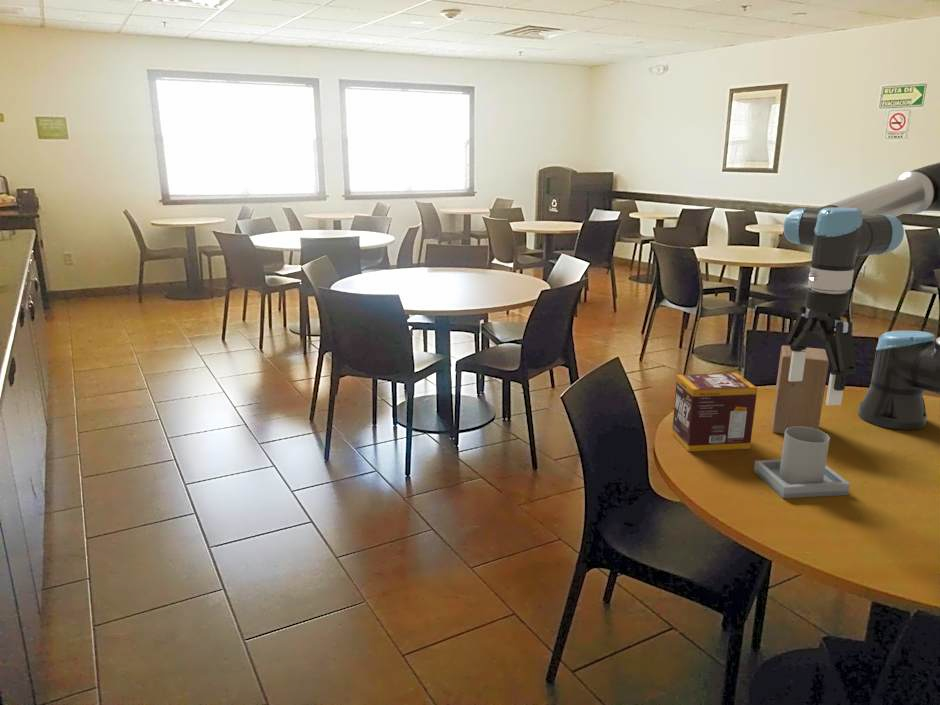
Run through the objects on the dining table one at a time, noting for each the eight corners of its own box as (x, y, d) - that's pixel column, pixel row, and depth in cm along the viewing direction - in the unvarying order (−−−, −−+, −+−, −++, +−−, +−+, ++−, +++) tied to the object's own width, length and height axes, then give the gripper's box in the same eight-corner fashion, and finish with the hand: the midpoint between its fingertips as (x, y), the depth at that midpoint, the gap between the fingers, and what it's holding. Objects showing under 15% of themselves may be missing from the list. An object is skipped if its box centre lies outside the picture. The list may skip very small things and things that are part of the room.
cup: (827, 489, 141) (835, 444, 138) (784, 485, 142) (791, 441, 139) (815, 470, 149) (822, 427, 146) (775, 467, 150) (781, 425, 147)
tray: (814, 467, 152) (816, 457, 151) (848, 494, 140) (850, 483, 140) (753, 471, 151) (755, 460, 150) (782, 498, 139) (784, 487, 139)
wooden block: (772, 433, 170) (782, 355, 164) (771, 418, 179) (781, 344, 173) (817, 439, 166) (829, 360, 160) (814, 423, 175) (826, 348, 169)
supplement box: (670, 433, 170) (675, 374, 165) (731, 431, 171) (737, 371, 166) (686, 452, 160) (692, 389, 155) (750, 449, 161) (758, 386, 157)
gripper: (776, 277, 145) (764, 372, 151) (850, 305, 121) (832, 416, 127) (810, 276, 145) (797, 371, 152) (890, 303, 122) (870, 414, 128)
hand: (813, 392), depth 139 cm, fingers open, 13 cm apart
